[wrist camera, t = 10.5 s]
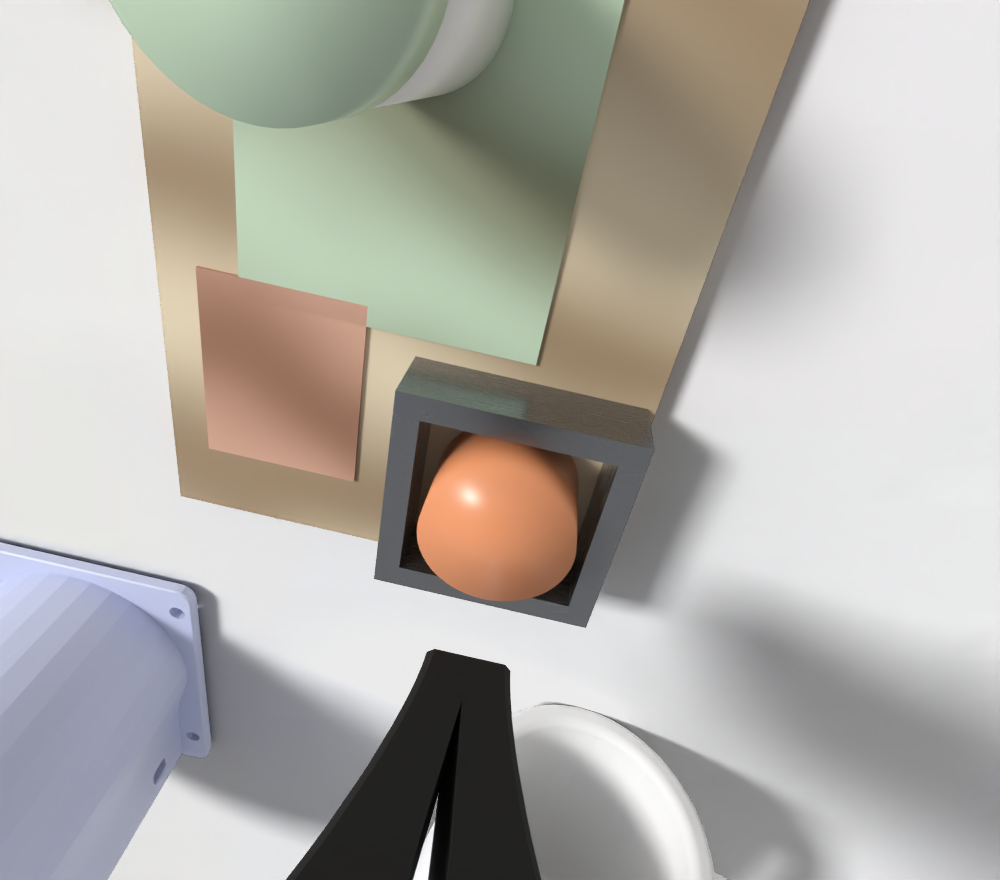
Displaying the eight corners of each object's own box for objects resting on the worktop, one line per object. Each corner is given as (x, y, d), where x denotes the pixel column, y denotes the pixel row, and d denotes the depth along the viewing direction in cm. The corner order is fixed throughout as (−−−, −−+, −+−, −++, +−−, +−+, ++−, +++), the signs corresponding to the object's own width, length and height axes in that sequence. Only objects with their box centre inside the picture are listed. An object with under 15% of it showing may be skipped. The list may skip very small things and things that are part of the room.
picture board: (589, 577, 18) (589, 592, 18) (190, 485, 18) (178, 497, 18) (855, -147, 10) (870, -158, 9) (114, -311, 10) (87, -331, 9)
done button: (559, 548, 17) (555, 616, 15) (430, 519, 17) (408, 582, 15) (595, 439, 15) (595, 499, 13) (449, 405, 15) (427, 459, 13)
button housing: (586, 578, 18) (585, 627, 16) (392, 534, 18) (374, 579, 16) (647, 408, 15) (654, 449, 13) (415, 356, 15) (395, 390, 13)
